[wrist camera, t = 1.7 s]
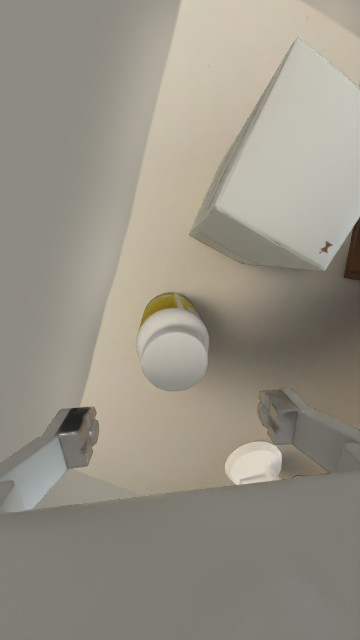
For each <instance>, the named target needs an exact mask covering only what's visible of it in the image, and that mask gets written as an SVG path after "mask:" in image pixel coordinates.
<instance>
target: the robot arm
mask: <svg viewBox="0 0 360 640" xmlns="http://www.w3.org/2000/svg"><path fill="white" fill-rule="evenodd" d="M258 398H259V400H260V401H261V402H260V403H259V405H258V416H259V419H260V421H261V423H262V425H263V426H264V427H266V428H267V429H268V431H267V433H268V435H269V437H270V438H271V440H272V442H273V443H274V445H285V444H293V445H294V446H295V447H296V448H298V449H299V450H300V451H302V452H303V453H304V454H306V455H307V456H308V457H310V458H311V459H312V460H313V461H315V462H316V463H317V464H319V465H320V466H321V467H323V468H324V469H325V470H327V471H328V472H329V473H330V474H322V475H314V476H306V477H298V478H289V479H281V480H273V481H265V482H256V483H248V484H240V485H232V486H223V487H215V488H207V489H199V490H190V491H182V492H174V493H166V494H158V495H149V496H141V497H133V498H125V499H117V500H108V501H100V502H92V503H84V504H76V505H68V506H59V507H51V508H43V509H35V510H32V508H33V507H34V506H35V505H36V504H37V503H38V502H39V501H40V500H41V499H42V498H43V496H44V495H45V494H46V493H47V492H48V491H49V490H50V489H51V488H52V487H53V486H54V484H55V483H56V482H57V481H58V480H59V479H60V478H61V477H62V476H63V475H64V474H65V472H66V471H67V470H68V469H70V468H78V467H85V466H88V465H89V462H90V459H91V456H92V454H93V449H92V447H93V446H94V445H95V444H96V443H97V440H98V436H99V423H98V421H97V420H96V419H95V416H96V414H97V413H96V409H95V407H82V408H70V409H61V410H60V411H59V412H58V413H57V415H56V416H55V417H54V419H53V420H52V422H51V424H50V425H49V426H48V428H47V429H46V431H45V432H44V434H43V435H42V437H38V438H36V439H35V440H33V441H32V442H30V443H29V444H28V445H26V446H25V447H23V448H22V449H20V450H19V451H17V452H16V453H14V454H13V455H12V456H10V457H9V458H7V459H6V460H4V461H3V462H1V463H0V640H360V430H359V429H357V428H355V427H353V426H350V425H348V424H346V423H344V422H342V421H339V420H337V419H335V418H333V417H331V416H329V415H326V414H324V413H322V412H320V411H318V410H316V409H314V410H312V409H311V408H310V407H309V406H308V405H307V404H306V403H305V402H304V401H303V400H302V399H301V398H300V397H299V396H298V395H297V394H296V393H295V392H294V391H293V390H292V389H291V388H282V389H276V390H266V391H260V392H259V397H258Z"/></svg>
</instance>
